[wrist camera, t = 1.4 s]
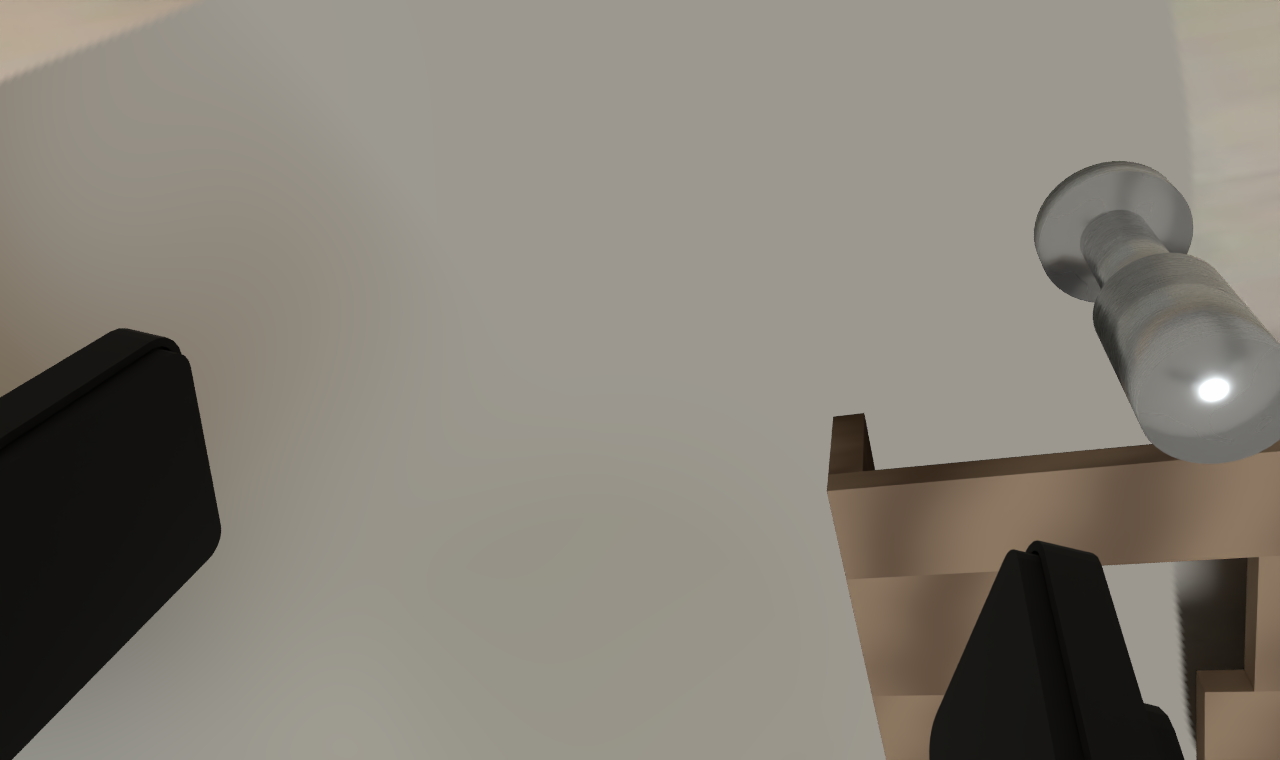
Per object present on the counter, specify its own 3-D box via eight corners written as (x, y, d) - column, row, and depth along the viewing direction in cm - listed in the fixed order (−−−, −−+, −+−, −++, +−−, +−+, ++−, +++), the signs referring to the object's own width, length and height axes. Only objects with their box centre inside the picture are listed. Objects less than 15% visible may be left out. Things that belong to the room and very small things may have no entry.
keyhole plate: (1460, 344, 28) (1562, 426, 24) (1395, 799, 38) (1461, 915, 33) (833, 416, 35) (827, 491, 31) (910, 788, 44) (913, 884, 40)
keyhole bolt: (1181, 147, 27) (1346, 296, 18) (1182, 276, 29) (1332, 475, 20) (1028, 176, 29) (1104, 329, 19) (1038, 298, 31) (1112, 492, 21)
